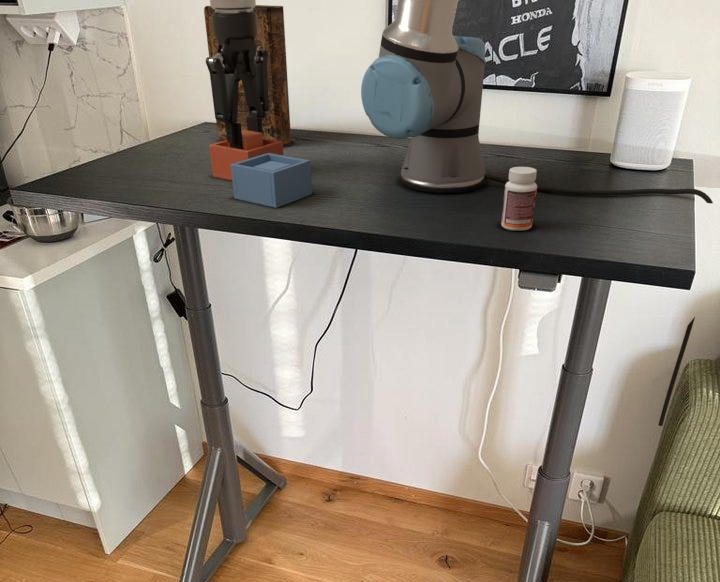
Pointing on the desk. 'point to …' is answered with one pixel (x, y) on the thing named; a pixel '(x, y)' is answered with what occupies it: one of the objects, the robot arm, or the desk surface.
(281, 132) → the book
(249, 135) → the clay block
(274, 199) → the blue bin
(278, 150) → the clay bin
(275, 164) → the blue block
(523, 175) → the pill bottle
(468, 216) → the desk surface
